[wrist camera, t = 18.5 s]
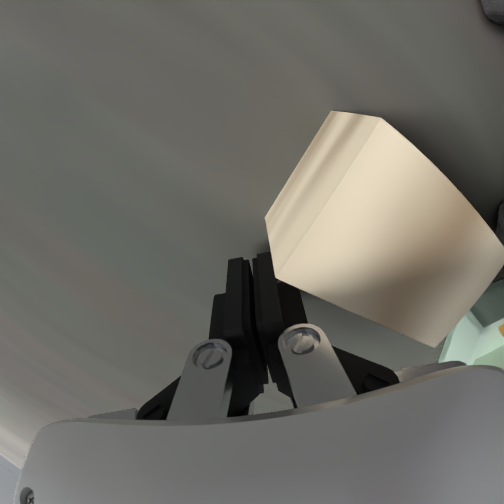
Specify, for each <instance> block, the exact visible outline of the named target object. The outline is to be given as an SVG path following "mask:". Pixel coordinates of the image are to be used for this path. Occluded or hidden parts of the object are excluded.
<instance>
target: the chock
mask: <svg viewBox="0 0 504 504" xmlns="http://www.w3.org/2000/svg"><path fill="white" fill-rule="evenodd" d="M265 221H266V226H267V232H268V238H269V243H270V249H271V255H272V261H273V267H274V273H275V278H277V279H279V280H281V281H283V282H286V283H288V284H290V285H292V286H294V287H297V288H299V289H301V290H303V291H306V292H308V293H310V294H312V295H314V296H317V297H319V298H321V299H323V300H326V301H328V302H330V303H332V304H335V305H337V306H339V307H341V308H344V309H346V310H348V311H351V312H353V313H355V314H357V315H360V316H362V317H364V318H366V319H369V320H371V321H373V322H376V323H378V324H380V325H382V326H385V327H387V328H389V329H392V330H394V331H396V332H399V333H401V334H403V335H406V336H408V337H410V338H413V339H415V340H417V341H419V342H422V343H424V344H427V345H429V346H431V347H434V348H435V347H436V346H437V345H438V344H439V343H440V342H441V341H442V340H443V339H444V338H445V337H446V336H447V335H448V334H449V332H450V331H451V330H452V329H453V328H454V327H455V326H456V325H457V324H458V323H459V321H460V320H461V319H462V318H463V317H464V316H465V315H466V313H467V312H468V311H469V310H470V309H471V307H472V306H473V305H474V304H475V303H476V301H477V300H478V299H479V298H480V296H481V295H482V294H483V293H484V291H485V290H486V289H487V287H488V286H489V285H490V283H491V282H492V281H493V279H494V278H495V277H496V275H497V274H498V272H499V271H500V270H501V268H502V267H503V265H504V246H503V245H502V243H501V242H500V241H499V239H498V238H497V237H496V235H495V234H494V233H493V231H492V230H491V229H490V227H489V226H488V225H487V223H486V222H485V221H484V220H483V218H482V217H481V216H480V215H479V213H478V212H477V211H476V210H475V209H474V207H473V206H472V205H471V204H470V203H469V202H468V200H467V199H466V198H465V197H464V196H463V195H462V194H461V192H460V191H459V190H458V189H457V188H456V187H455V186H454V185H453V184H452V183H451V182H450V181H449V179H448V178H447V177H446V176H445V175H444V174H443V173H442V172H441V171H440V170H439V169H438V168H437V167H436V166H435V165H434V164H433V163H432V162H431V161H430V160H429V159H428V158H427V157H426V156H425V155H423V154H422V153H421V152H420V151H419V150H418V149H417V148H416V147H415V146H414V145H413V144H412V143H410V142H409V141H408V140H407V139H406V138H405V137H404V136H402V135H401V134H400V133H399V132H398V131H397V130H395V129H394V128H393V127H392V126H391V125H389V124H388V123H387V122H386V121H384V120H383V119H382V118H379V117H373V116H367V115H361V114H354V113H347V112H339V111H331V112H330V113H329V115H328V117H327V118H326V120H325V121H324V123H323V125H322V126H321V128H320V129H319V131H318V133H317V134H316V136H315V137H314V139H313V141H312V142H311V144H310V145H309V147H308V149H307V150H306V152H305V154H304V155H303V157H302V158H301V160H300V162H299V163H298V165H297V166H296V168H295V170H294V171H293V173H292V175H291V176H290V178H289V179H288V181H287V183H286V184H285V186H284V187H283V189H282V191H281V192H280V194H279V196H278V197H277V199H276V200H275V202H274V204H273V205H272V207H271V209H270V210H269V212H268V213H267V215H266V217H265Z"/></svg>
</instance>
